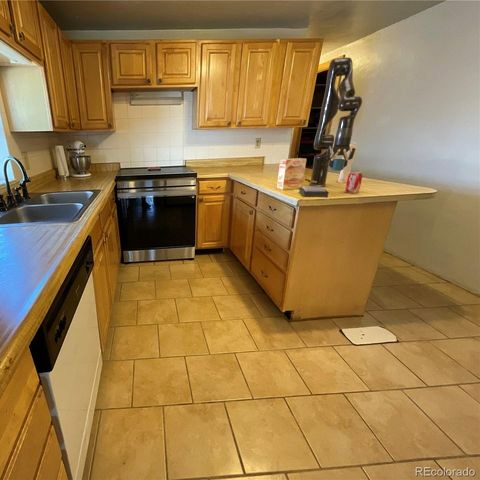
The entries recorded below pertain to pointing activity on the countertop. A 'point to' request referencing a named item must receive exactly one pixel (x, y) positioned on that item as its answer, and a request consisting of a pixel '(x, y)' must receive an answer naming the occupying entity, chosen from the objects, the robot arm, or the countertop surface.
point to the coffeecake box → (291, 173)
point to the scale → (313, 193)
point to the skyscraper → (347, 169)
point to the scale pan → (313, 188)
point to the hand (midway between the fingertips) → (337, 167)
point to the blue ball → (338, 164)
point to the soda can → (353, 182)
